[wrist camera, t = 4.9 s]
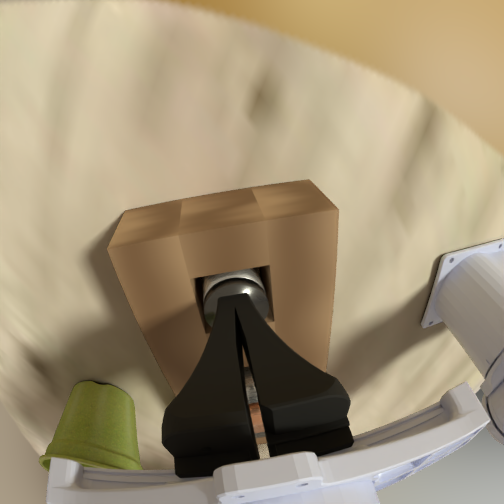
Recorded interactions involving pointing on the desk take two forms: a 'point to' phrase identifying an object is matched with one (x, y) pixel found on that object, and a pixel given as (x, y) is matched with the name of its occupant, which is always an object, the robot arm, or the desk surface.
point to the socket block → (229, 267)
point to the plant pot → (96, 429)
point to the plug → (233, 290)
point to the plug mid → (253, 402)
